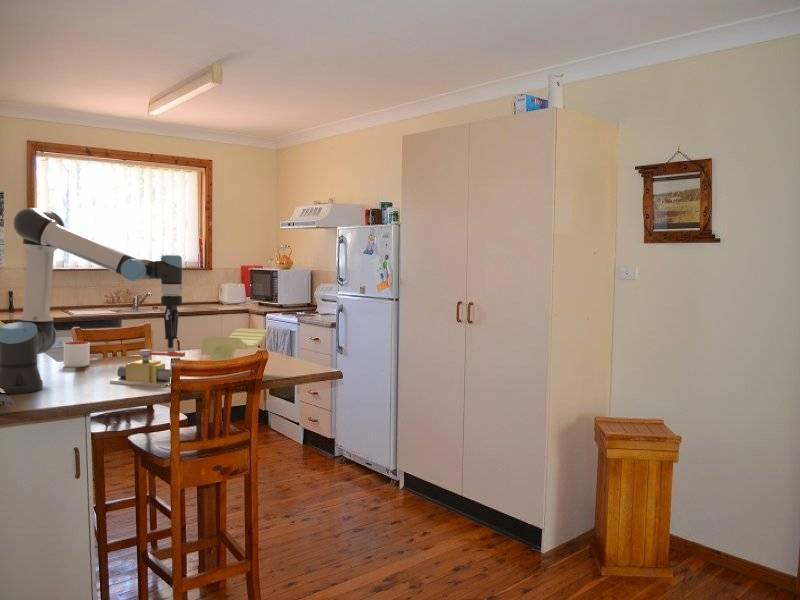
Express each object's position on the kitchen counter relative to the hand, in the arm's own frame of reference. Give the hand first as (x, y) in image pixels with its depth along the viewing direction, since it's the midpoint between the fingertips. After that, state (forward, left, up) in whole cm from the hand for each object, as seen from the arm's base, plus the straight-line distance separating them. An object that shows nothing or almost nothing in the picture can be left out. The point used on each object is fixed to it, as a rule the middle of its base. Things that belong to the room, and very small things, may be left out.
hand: (171, 355), depth 242 cm
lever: (-2, +3, 0) cm, 3 cm away
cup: (+18, +55, -11) cm, 59 cm away
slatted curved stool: (+23, -16, -11) cm, 30 cm away
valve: (-3, +9, -10) cm, 14 cm away
